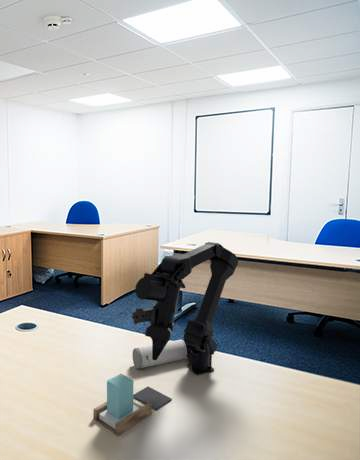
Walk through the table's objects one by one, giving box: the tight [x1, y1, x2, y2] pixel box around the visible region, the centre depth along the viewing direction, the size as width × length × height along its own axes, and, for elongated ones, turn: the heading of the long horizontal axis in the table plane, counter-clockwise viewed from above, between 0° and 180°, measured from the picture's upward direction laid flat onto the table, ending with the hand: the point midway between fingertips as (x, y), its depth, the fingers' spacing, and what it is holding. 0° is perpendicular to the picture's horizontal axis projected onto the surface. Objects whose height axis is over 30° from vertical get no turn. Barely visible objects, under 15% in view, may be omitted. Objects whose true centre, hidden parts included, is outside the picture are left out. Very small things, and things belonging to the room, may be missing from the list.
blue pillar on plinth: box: [99, 373, 140, 429], centre depth 85 cm, size 8×6×9 cm
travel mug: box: [132, 338, 190, 370], centre depth 114 cm, size 6×7×20 cm
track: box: [92, 401, 153, 437], centre depth 86 cm, size 11×9×2 cm
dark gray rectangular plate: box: [133, 386, 172, 411], centre depth 94 cm, size 6×9×1 cm, turn 50°
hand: (154, 359), depth 94 cm, fingers closed
